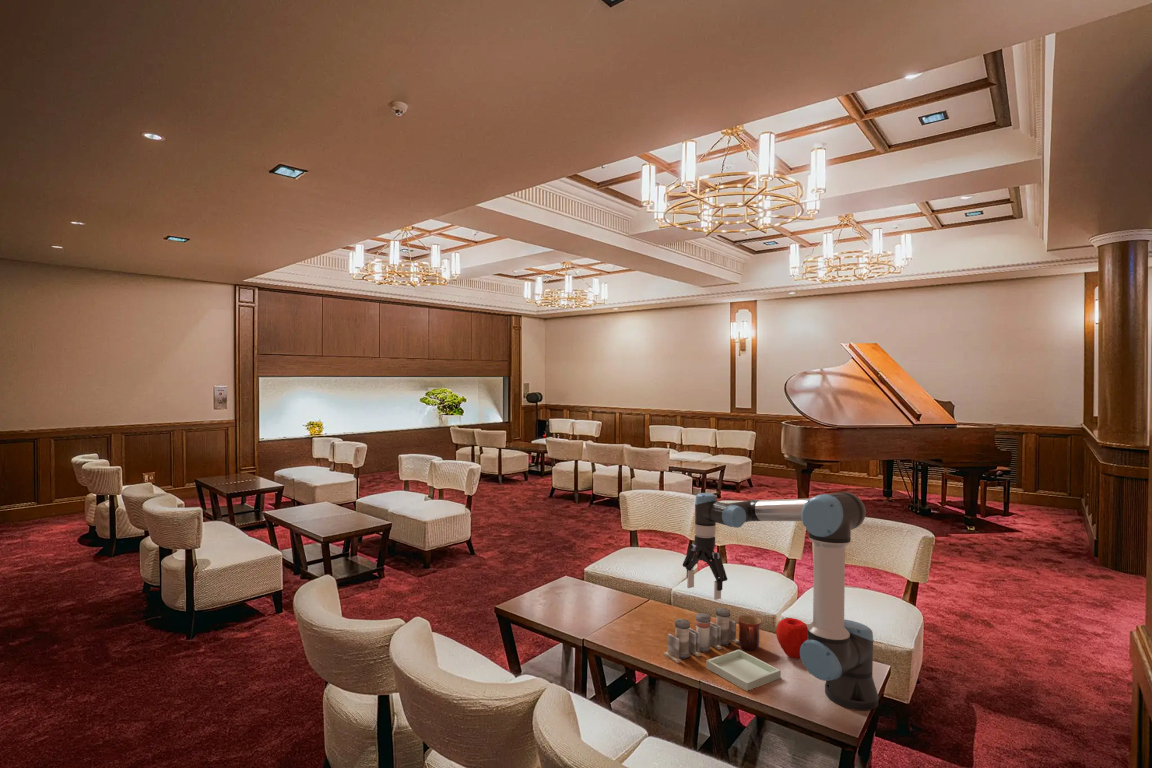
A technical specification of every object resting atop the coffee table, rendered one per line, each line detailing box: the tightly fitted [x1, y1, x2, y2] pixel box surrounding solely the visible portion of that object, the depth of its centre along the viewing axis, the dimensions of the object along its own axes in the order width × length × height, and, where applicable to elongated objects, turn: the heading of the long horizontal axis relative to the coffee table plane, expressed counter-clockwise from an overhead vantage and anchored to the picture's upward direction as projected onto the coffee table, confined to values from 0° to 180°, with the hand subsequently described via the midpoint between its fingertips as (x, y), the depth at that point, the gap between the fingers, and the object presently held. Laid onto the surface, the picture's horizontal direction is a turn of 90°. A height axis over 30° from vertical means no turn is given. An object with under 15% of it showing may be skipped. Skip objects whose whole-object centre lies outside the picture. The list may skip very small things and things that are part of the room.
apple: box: [775, 617, 808, 660], centre depth 204 cm, size 12×12×13 cm
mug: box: [737, 614, 763, 652], centre depth 209 cm, size 12×9×10 cm
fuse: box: [695, 612, 712, 653], centre depth 209 cm, size 5×5×12 cm
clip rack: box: [663, 607, 739, 664], centre depth 209 cm, size 7×32×12 cm, turn 123°
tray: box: [705, 649, 782, 692], centre depth 191 cm, size 18×17×3 cm
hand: (703, 593), depth 209 cm, fingers open, 13 cm apart
